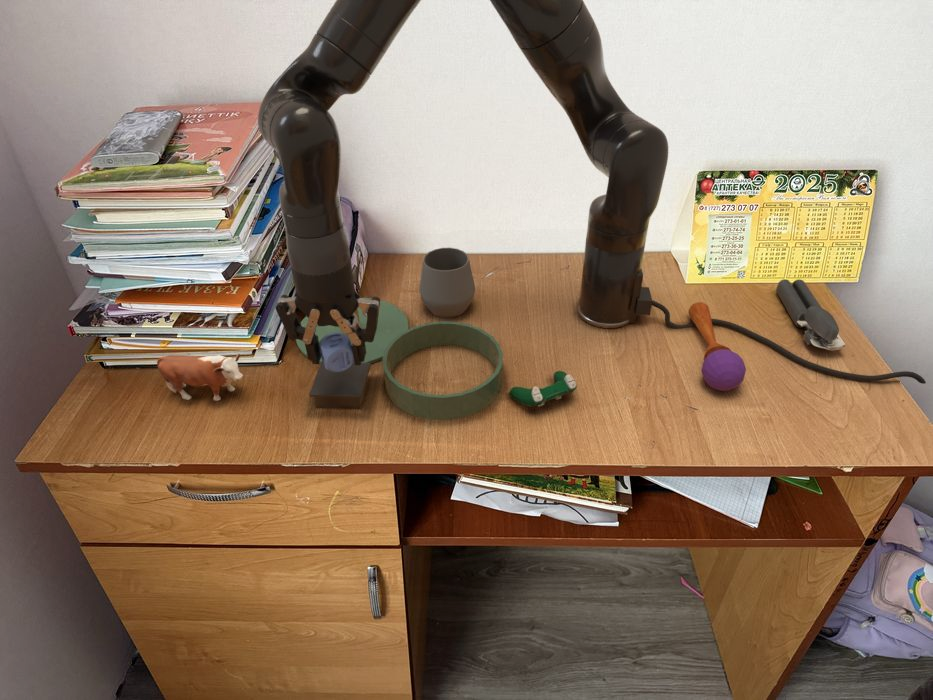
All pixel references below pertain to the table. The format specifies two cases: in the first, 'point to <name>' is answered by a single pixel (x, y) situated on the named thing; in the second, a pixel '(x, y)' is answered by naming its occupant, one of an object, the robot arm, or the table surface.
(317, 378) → the stand
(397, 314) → the tin lid
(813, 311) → the can opener
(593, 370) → the table surface
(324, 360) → the decorative dice
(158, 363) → the bull figurine
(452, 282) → the cup
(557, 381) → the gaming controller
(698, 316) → the purple maraca
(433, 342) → the tin
